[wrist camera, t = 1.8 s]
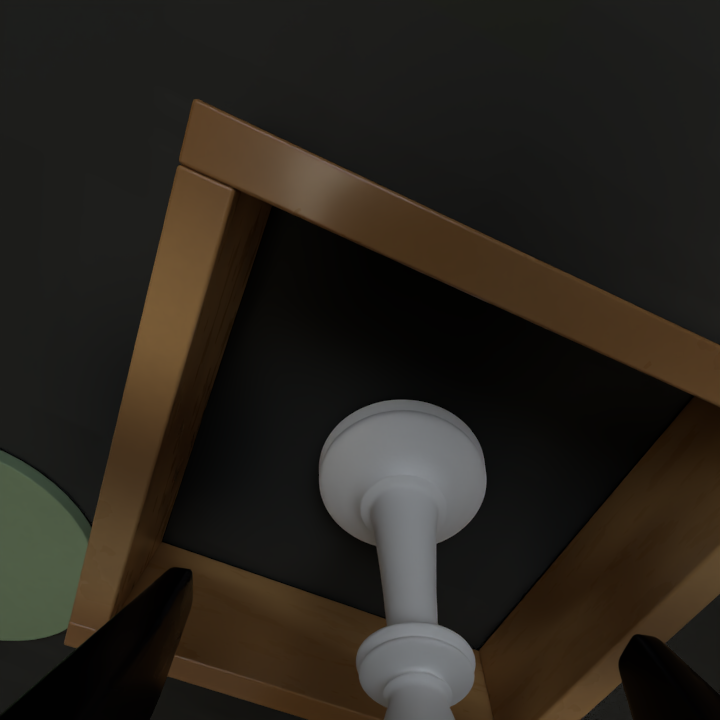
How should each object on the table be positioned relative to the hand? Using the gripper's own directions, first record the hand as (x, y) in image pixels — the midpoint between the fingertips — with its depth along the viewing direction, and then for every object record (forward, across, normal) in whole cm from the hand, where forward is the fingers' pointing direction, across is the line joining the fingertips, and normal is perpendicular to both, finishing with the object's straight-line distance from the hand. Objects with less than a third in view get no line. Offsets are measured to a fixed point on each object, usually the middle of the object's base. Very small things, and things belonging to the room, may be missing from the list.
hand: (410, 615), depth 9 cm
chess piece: (+5, 0, 0) cm, 5 cm away
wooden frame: (+5, 0, 0) cm, 5 cm away
